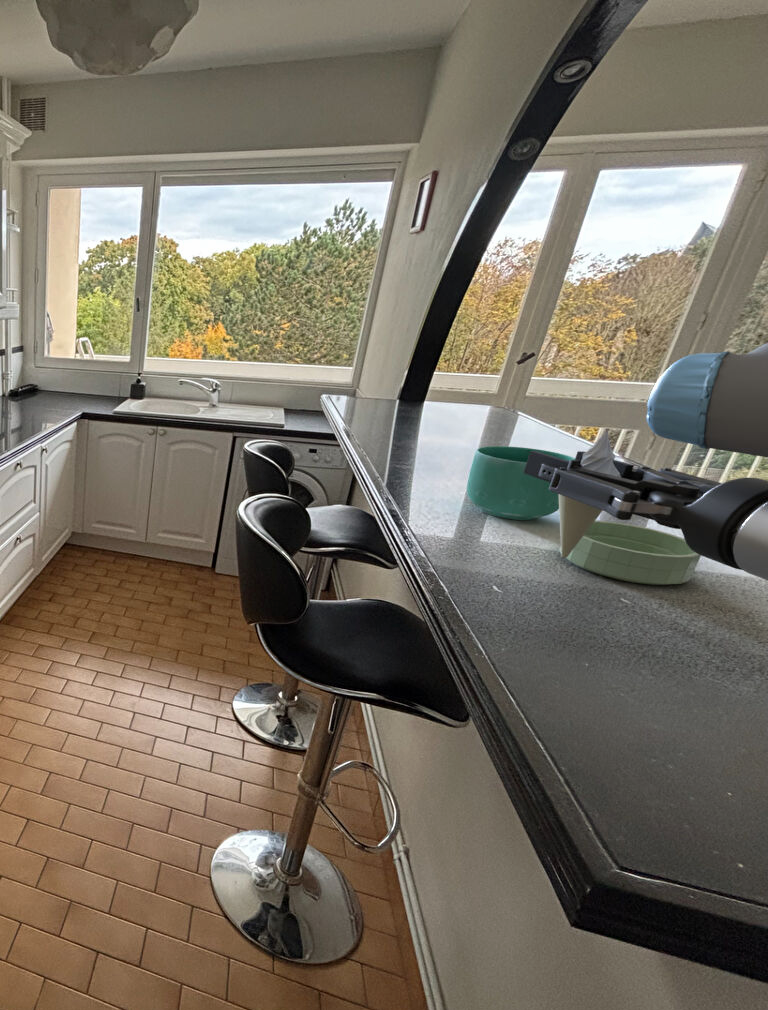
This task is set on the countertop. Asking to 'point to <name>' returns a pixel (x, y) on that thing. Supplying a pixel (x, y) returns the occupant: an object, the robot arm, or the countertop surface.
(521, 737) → the countertop surface
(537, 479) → the mug
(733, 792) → the countertop surface
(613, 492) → the robot arm
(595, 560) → the bowl
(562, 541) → the ice cream cone
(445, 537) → the countertop surface
